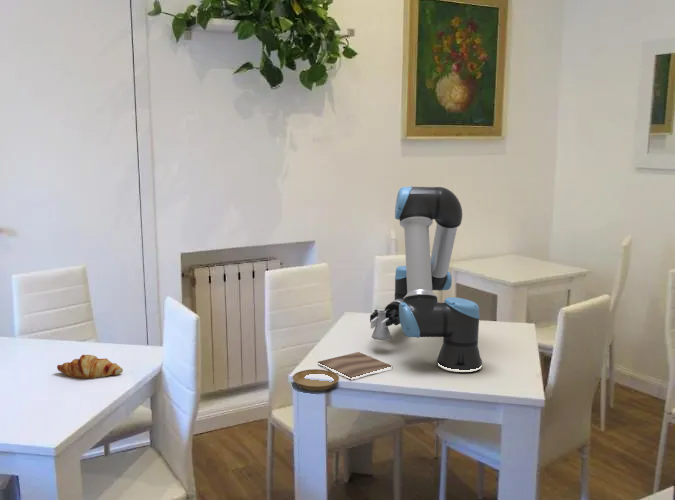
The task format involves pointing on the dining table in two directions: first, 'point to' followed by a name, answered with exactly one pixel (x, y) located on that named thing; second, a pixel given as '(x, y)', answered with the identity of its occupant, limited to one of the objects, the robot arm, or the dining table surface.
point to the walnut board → (354, 364)
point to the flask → (379, 333)
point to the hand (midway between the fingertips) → (376, 325)
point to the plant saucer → (314, 384)
